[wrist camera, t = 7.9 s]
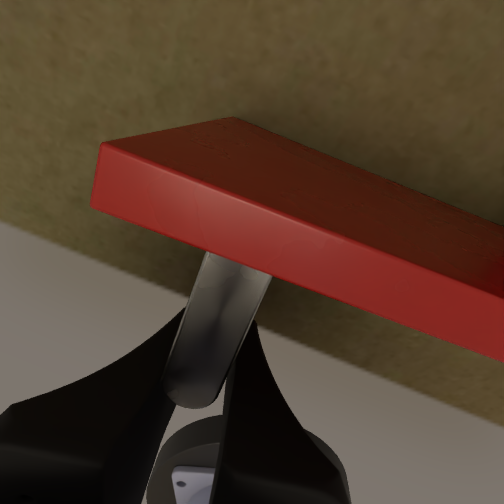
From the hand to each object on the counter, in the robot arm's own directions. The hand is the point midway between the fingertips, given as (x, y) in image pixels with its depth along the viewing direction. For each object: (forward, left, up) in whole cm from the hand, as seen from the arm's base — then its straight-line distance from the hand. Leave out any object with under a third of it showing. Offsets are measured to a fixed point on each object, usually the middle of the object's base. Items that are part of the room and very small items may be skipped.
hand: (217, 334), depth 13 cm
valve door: (+2, -5, -4) cm, 7 cm away
